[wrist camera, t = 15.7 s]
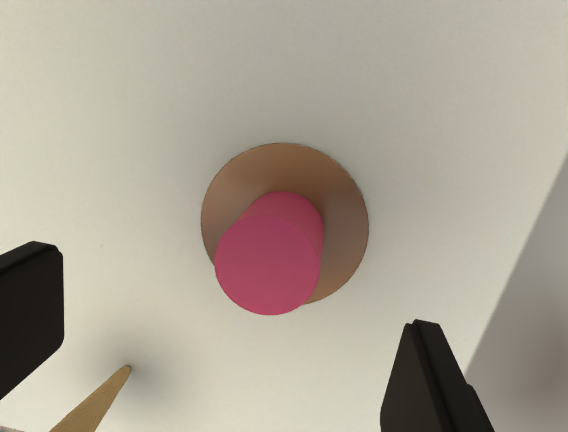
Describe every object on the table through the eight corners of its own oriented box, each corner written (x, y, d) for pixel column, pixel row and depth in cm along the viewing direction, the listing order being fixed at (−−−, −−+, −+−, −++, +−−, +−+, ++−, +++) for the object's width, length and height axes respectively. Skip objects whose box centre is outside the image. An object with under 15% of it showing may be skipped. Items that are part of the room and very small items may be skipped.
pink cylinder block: (226, 220, 21) (192, 252, 16) (292, 174, 20) (277, 193, 15) (273, 284, 21) (255, 333, 17) (340, 242, 20) (341, 283, 16)
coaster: (171, 205, 22) (168, 207, 21) (303, 106, 19) (302, 106, 19) (266, 328, 23) (265, 333, 22) (401, 249, 20) (402, 252, 20)
